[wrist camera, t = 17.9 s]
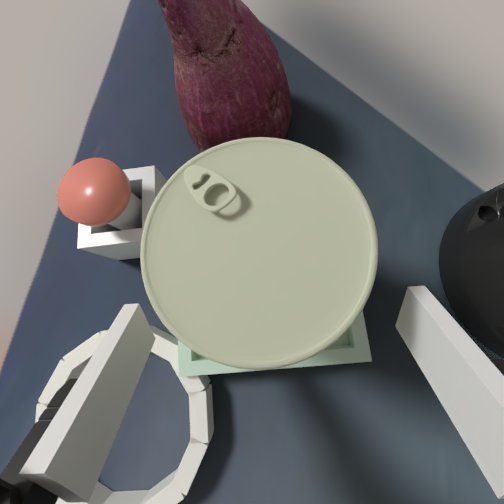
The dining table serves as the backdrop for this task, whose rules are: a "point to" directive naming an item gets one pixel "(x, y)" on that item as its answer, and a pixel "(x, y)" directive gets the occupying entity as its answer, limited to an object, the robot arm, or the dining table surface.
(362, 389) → the dining table surface
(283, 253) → the can
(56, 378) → the socket ring
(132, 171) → the button post
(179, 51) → the vegetable
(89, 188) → the button
